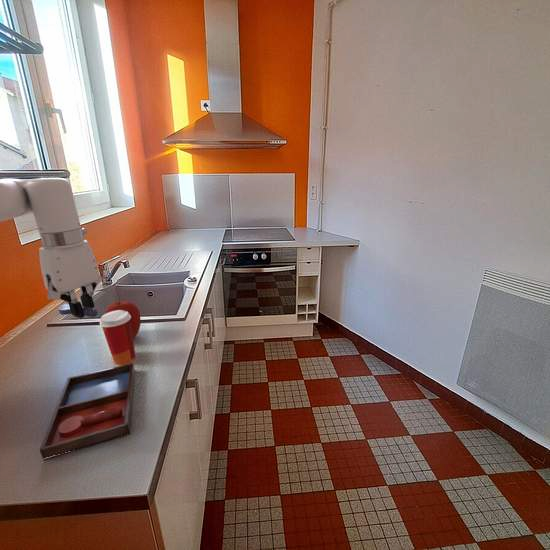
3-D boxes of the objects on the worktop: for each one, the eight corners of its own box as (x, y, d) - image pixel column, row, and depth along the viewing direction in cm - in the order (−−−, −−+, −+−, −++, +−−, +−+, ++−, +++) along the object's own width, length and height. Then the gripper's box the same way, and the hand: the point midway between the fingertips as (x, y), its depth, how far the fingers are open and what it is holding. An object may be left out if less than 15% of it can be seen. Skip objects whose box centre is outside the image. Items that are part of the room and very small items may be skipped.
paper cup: (127, 348, 91) (117, 307, 86) (145, 354, 88) (136, 312, 83) (103, 363, 85) (91, 319, 80) (122, 370, 81) (110, 325, 76)
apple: (151, 334, 99) (143, 295, 94) (124, 350, 90) (115, 308, 86) (129, 327, 103) (121, 290, 98) (102, 342, 95) (92, 302, 90)
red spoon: (124, 407, 68) (122, 400, 67) (122, 421, 64) (120, 414, 63) (62, 423, 64) (60, 416, 63) (57, 440, 60) (54, 432, 59)
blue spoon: (105, 313, 71) (103, 305, 71) (88, 321, 68) (86, 313, 67) (73, 305, 76) (71, 298, 75) (55, 312, 72) (52, 305, 72)
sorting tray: (43, 460, 57) (39, 450, 56) (70, 386, 76) (67, 377, 75) (130, 434, 62) (127, 424, 61) (135, 371, 81) (133, 362, 80)
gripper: (86, 229, 73) (103, 298, 80) (10, 245, 60) (38, 327, 66) (107, 231, 70) (123, 302, 77) (33, 248, 57) (60, 333, 63)
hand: (84, 313), depth 71 cm, fingers closed on blue spoon, 2 cm apart
